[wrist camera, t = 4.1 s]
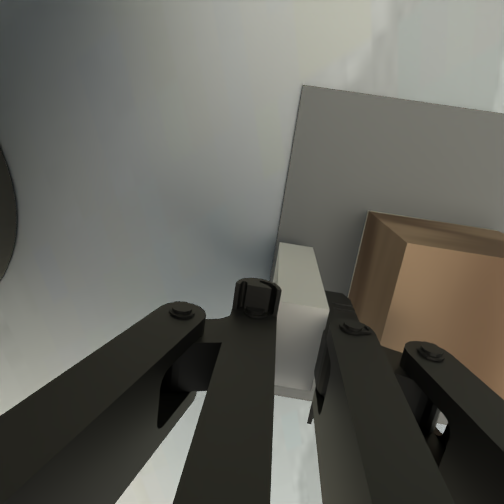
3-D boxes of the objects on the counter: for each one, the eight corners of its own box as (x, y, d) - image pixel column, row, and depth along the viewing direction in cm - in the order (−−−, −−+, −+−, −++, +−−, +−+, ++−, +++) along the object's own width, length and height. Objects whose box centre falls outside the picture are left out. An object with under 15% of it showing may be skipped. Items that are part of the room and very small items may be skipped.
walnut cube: (341, 323, 20) (364, 398, 14) (367, 210, 18) (407, 242, 12) (457, 342, 20) (530, 427, 14) (495, 230, 18) (597, 272, 12)
